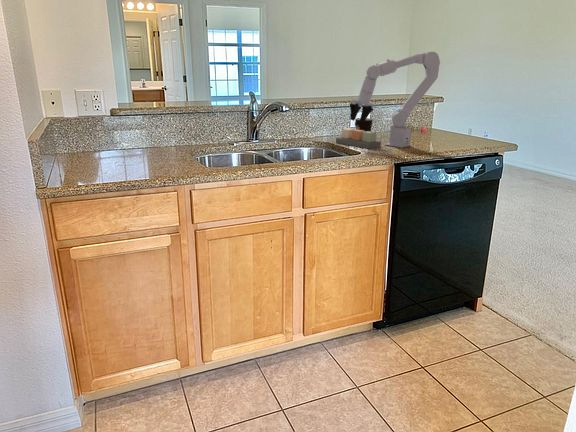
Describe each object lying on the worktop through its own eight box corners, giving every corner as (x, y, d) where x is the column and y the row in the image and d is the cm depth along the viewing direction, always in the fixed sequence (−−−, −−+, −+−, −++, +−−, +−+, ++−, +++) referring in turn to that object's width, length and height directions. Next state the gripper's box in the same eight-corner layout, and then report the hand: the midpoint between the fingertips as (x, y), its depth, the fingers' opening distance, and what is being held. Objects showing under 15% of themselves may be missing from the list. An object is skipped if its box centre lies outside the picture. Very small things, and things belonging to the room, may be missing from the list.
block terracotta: (364, 139, 210) (365, 130, 209) (358, 140, 207) (359, 131, 206) (357, 138, 213) (357, 129, 212) (351, 139, 210) (352, 130, 209)
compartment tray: (380, 146, 207) (380, 141, 206) (368, 148, 201) (368, 143, 200) (347, 140, 221) (348, 136, 220) (335, 142, 215) (336, 137, 214)
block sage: (375, 141, 205) (376, 132, 204) (369, 142, 203) (370, 133, 201) (368, 140, 208) (368, 131, 207) (362, 141, 206) (362, 132, 204)
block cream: (354, 137, 214) (354, 129, 213) (348, 138, 212) (348, 129, 210) (347, 136, 218) (347, 128, 216) (341, 137, 215) (341, 128, 213)
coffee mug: (372, 140, 223) (374, 120, 219) (355, 140, 223) (356, 120, 219) (369, 136, 233) (370, 117, 230) (352, 136, 234) (353, 117, 230)
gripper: (369, 91, 212) (360, 119, 217) (350, 87, 202) (341, 116, 207) (380, 95, 208) (371, 123, 213) (361, 91, 198) (352, 121, 203)
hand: (357, 120), depth 210 cm, fingers open, 7 cm apart
